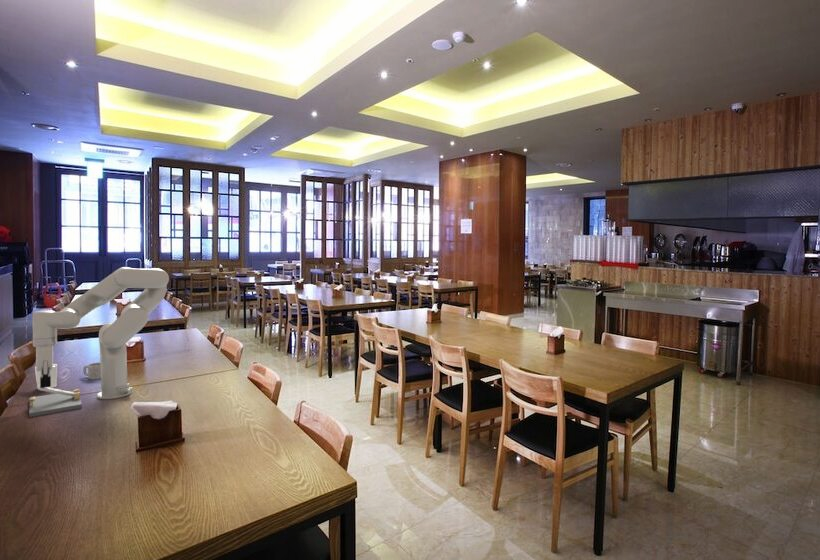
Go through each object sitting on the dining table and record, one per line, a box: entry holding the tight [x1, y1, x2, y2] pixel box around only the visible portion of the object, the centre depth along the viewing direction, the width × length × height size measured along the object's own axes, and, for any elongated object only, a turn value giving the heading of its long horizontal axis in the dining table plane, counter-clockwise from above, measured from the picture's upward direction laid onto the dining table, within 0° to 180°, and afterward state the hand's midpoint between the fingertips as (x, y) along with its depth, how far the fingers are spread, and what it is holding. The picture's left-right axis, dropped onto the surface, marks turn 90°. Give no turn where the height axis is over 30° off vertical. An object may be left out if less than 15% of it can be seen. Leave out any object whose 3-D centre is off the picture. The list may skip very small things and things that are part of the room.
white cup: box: [34, 363, 58, 390], centre depth 203 cm, size 8×8×10 cm
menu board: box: [28, 388, 83, 418], centre depth 182 cm, size 16×22×4 cm
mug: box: [83, 362, 101, 380], centre depth 219 cm, size 10×7×7 cm
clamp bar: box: [38, 386, 75, 397], centre depth 183 cm, size 14×3×1 cm, turn 130°
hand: (45, 386), depth 180 cm, fingers closed
